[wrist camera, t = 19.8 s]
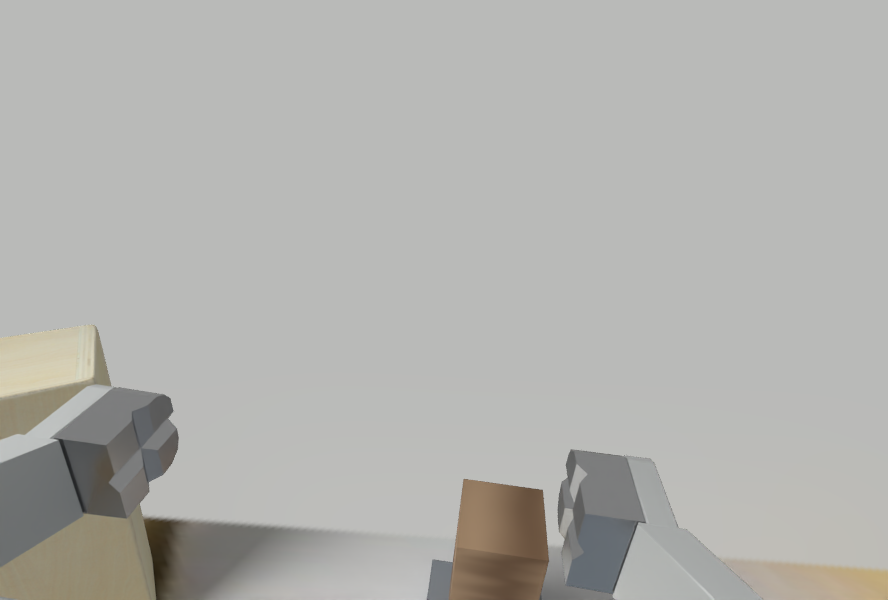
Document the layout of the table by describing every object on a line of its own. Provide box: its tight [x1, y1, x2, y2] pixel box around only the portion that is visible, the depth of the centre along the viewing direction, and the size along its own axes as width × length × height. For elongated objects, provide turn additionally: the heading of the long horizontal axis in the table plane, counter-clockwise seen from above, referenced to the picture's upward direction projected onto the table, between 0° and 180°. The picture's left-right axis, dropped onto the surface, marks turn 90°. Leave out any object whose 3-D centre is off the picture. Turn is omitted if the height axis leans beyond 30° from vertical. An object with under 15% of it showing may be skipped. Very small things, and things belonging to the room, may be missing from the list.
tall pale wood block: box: [0, 325, 156, 600], centre depth 31 cm, size 8×7×21 cm
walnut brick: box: [449, 479, 549, 600], centre depth 32 cm, size 5×5×10 cm
